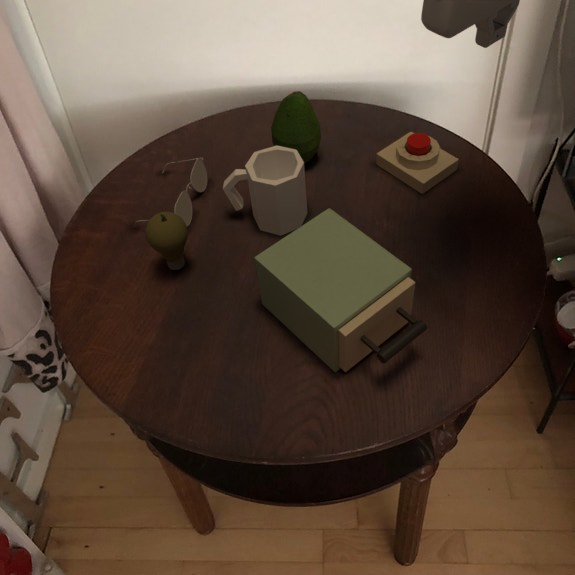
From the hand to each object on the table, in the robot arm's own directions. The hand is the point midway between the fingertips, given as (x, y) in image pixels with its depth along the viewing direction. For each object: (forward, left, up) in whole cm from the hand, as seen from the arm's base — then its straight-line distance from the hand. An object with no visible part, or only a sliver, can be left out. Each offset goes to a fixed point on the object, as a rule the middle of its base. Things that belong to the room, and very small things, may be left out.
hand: (489, 41), depth 68 cm
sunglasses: (+34, +27, -29) cm, 52 cm away
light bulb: (+22, +34, -29) cm, 50 cm away
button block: (+13, -6, -29) cm, 32 cm away
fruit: (+28, +6, -29) cm, 41 cm away
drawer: (-3, +23, -28) cm, 37 cm away
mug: (+21, +18, -29) cm, 40 cm away
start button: (+13, -6, -26) cm, 29 cm away
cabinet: (+1, +23, -29) cm, 37 cm away
